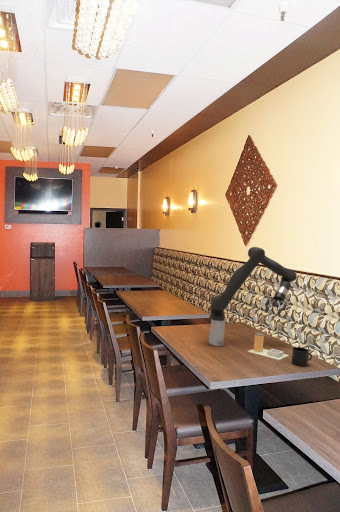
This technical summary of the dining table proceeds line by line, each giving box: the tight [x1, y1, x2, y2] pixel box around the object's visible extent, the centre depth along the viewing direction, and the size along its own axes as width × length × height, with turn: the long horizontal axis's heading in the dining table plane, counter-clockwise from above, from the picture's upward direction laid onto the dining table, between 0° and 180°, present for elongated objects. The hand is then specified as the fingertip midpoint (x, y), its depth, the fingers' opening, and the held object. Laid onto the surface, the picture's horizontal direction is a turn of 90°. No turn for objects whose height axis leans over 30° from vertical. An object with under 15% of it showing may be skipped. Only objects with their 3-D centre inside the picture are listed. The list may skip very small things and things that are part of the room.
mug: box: [291, 346, 313, 367], centre depth 255 cm, size 9×12×9 cm
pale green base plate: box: [247, 348, 289, 361], centre depth 268 cm, size 22×14×4 cm, turn 50°
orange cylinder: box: [253, 332, 265, 352], centre depth 272 cm, size 4×4×11 cm
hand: (271, 313), depth 281 cm, fingers open, 8 cm apart
